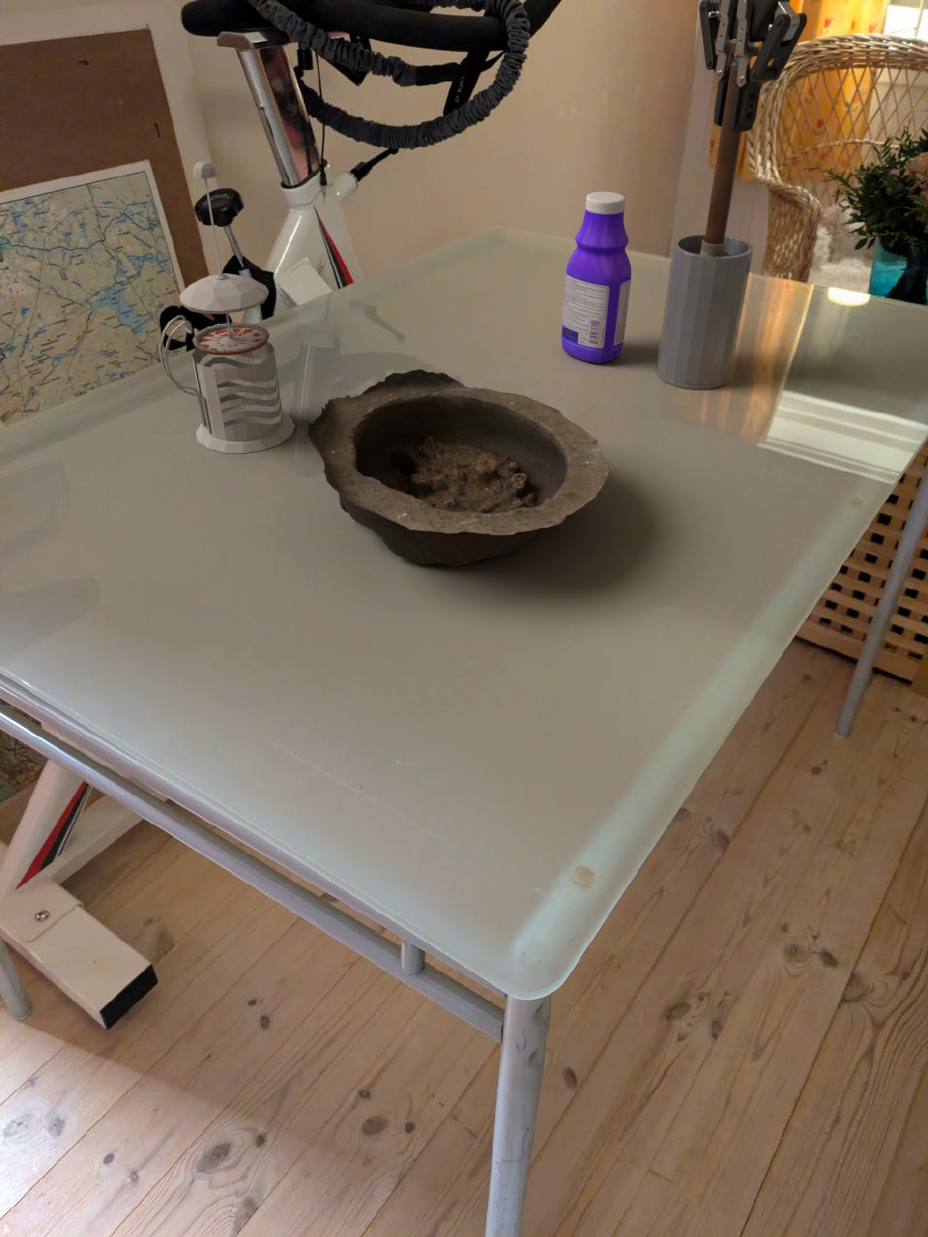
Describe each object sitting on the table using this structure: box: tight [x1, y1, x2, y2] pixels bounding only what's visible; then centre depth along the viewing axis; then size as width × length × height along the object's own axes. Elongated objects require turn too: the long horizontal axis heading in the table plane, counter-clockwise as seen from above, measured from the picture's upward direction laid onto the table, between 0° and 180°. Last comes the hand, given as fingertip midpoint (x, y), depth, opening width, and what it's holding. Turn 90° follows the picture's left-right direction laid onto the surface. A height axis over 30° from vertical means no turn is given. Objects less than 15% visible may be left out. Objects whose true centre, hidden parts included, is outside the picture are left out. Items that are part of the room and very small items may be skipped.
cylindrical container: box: [656, 233, 754, 390], centre depth 102 cm, size 8×8×14 cm
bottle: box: [560, 191, 632, 364], centre depth 105 cm, size 7×6×17 cm
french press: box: [158, 160, 296, 454], centre depth 88 cm, size 10×12×25 cm
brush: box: [692, 66, 752, 257], centre depth 94 cm, size 4×4×22 cm
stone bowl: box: [307, 368, 610, 567], centre depth 80 cm, size 25×25×9 cm
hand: (732, 126), depth 91 cm, fingers closed on brush, 2 cm apart
